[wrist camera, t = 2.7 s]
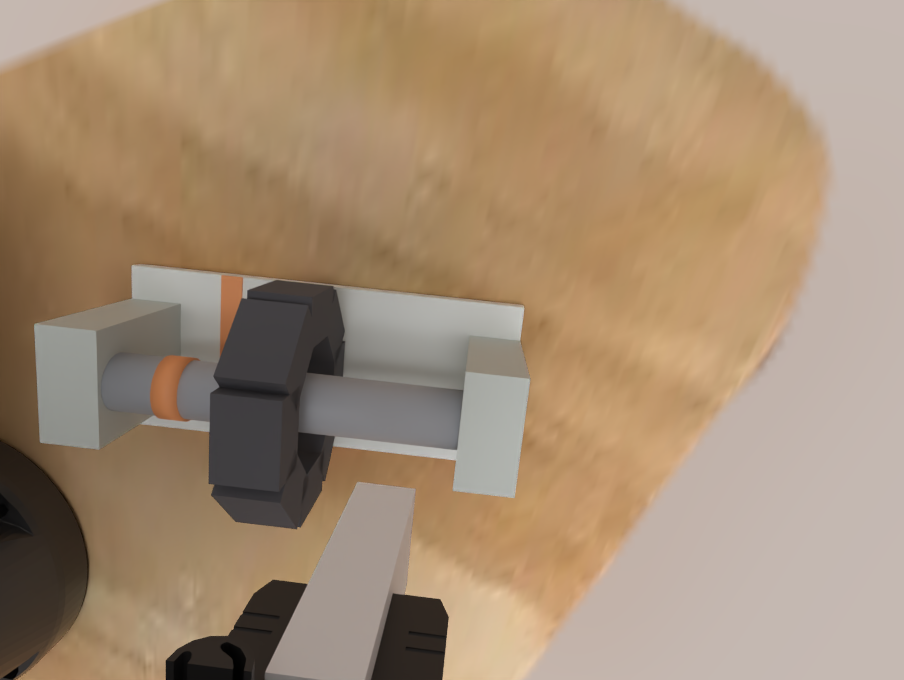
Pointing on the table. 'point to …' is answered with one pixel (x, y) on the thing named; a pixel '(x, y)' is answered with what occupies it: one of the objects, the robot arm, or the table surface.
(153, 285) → the pipe rig
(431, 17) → the table surface
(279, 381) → the o-ring
